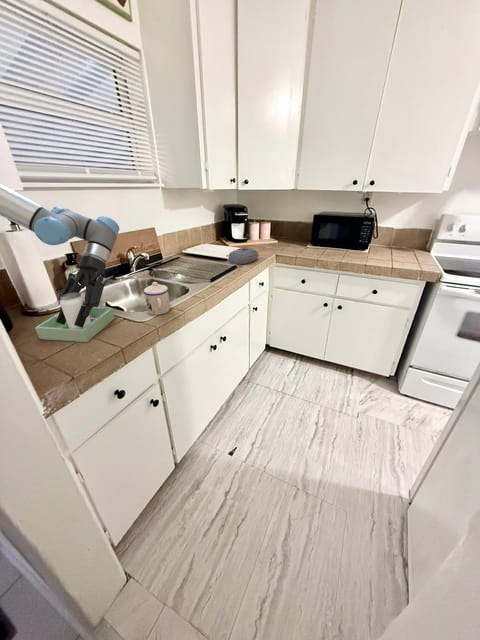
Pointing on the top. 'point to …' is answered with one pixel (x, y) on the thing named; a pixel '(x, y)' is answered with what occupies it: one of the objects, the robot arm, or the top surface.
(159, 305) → the teacup with lid
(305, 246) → the top surface
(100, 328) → the tray with compartments
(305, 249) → the top surface
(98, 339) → the top surface
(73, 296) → the can
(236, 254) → the grey rounded bag
